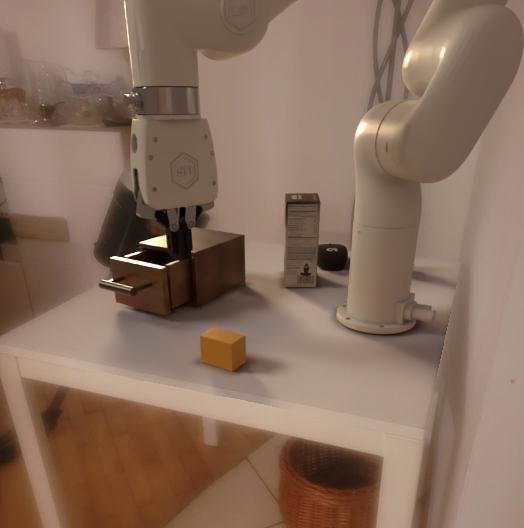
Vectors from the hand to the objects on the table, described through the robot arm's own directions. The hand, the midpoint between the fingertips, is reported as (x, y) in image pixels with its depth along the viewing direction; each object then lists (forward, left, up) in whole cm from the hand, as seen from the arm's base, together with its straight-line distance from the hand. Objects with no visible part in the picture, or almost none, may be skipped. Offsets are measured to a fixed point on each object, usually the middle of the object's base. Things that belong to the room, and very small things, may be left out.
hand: (180, 257), depth 66 cm
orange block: (-8, +2, -13) cm, 15 cm away
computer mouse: (0, -48, -13) cm, 50 cm away
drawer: (+14, -9, -12) cm, 20 cm away
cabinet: (+14, -19, -13) cm, 27 cm away
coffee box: (0, -34, -13) cm, 36 cm away
